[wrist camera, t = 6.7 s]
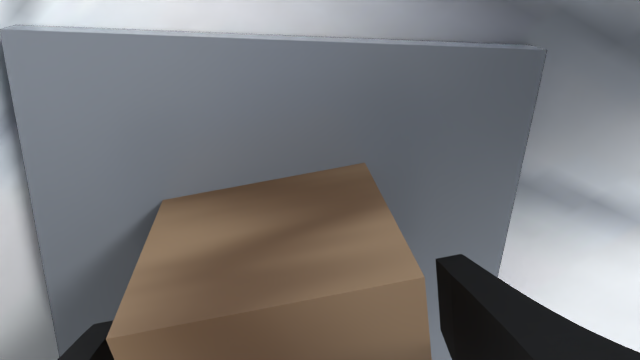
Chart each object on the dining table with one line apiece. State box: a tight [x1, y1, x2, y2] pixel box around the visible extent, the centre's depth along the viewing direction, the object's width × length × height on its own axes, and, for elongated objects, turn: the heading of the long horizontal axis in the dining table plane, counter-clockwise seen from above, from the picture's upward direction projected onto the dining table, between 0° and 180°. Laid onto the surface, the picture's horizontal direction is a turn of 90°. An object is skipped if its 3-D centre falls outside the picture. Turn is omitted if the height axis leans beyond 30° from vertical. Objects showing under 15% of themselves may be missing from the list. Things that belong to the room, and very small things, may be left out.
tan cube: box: [106, 163, 432, 360], centre depth 11 cm, size 5×5×5 cm
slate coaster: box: [0, 25, 547, 360], centre depth 14 cm, size 12×12×1 cm
